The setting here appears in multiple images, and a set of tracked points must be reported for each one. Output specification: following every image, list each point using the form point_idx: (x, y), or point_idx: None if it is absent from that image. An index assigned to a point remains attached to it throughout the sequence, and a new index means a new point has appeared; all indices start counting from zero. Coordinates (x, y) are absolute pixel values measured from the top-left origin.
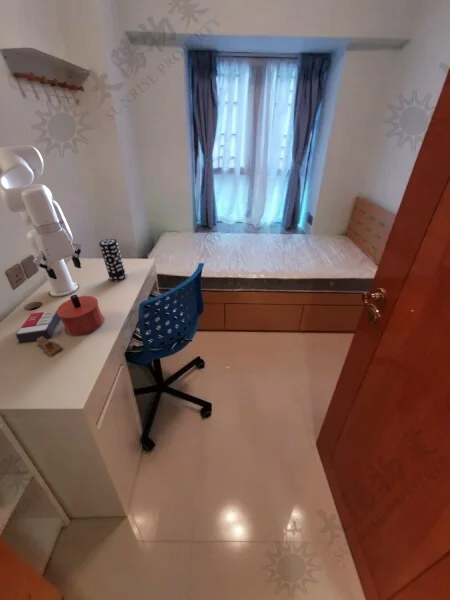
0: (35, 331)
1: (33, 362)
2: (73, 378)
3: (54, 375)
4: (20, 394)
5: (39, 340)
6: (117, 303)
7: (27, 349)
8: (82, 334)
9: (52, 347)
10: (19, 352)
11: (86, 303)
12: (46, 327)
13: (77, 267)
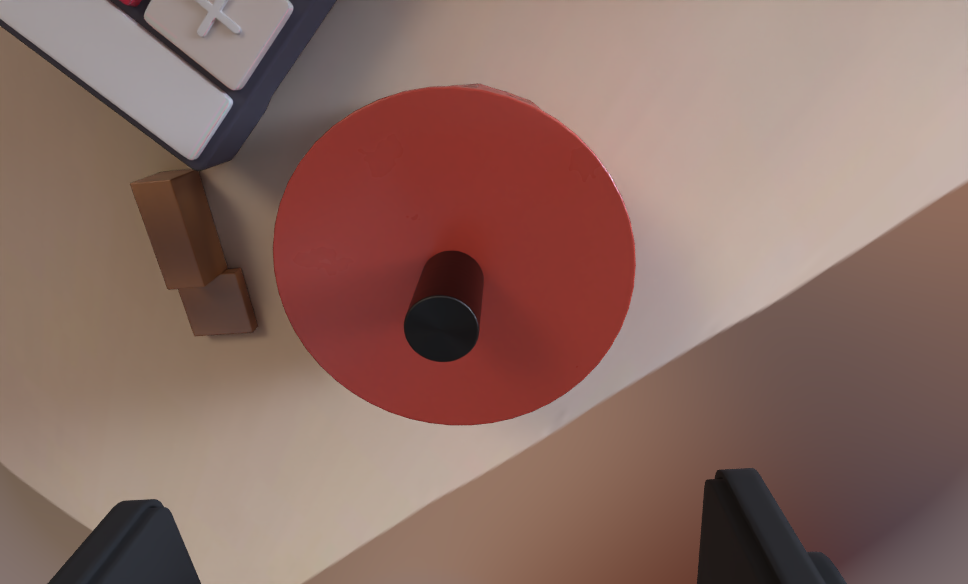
0: (129, 113)
1: (109, 300)
2: (241, 526)
3: (180, 457)
4: (39, 443)
5: (146, 216)
6: (781, 179)
7: (89, 151)
8: None
9: (216, 289)
10: (42, 137)
11: (525, 308)
12: (209, 138)
13: (701, 560)
